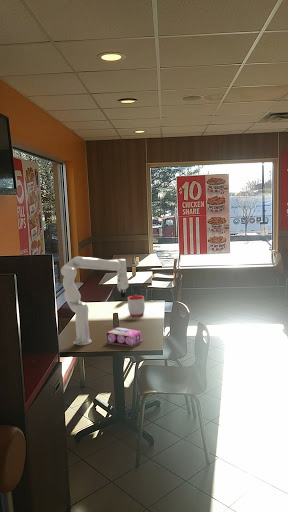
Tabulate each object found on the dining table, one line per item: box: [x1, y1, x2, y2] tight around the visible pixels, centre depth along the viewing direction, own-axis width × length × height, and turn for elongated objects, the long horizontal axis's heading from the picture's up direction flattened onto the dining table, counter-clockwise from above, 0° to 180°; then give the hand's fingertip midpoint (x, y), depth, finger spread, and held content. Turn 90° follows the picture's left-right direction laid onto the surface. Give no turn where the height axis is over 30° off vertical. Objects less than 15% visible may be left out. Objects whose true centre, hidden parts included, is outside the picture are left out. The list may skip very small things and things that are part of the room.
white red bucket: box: [127, 293, 146, 318], centre depth 394 cm, size 16×17×20 cm
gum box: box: [106, 326, 143, 347], centre depth 322 cm, size 24×8×14 cm
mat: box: [107, 339, 145, 348], centre depth 323 cm, size 15×23×1 cm, turn 61°
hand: (123, 297), depth 341 cm, fingers closed
